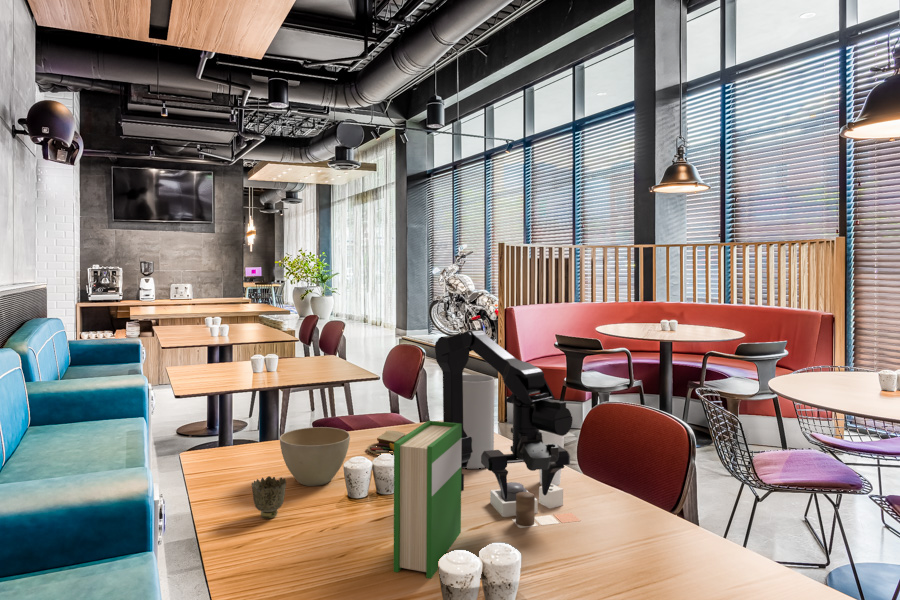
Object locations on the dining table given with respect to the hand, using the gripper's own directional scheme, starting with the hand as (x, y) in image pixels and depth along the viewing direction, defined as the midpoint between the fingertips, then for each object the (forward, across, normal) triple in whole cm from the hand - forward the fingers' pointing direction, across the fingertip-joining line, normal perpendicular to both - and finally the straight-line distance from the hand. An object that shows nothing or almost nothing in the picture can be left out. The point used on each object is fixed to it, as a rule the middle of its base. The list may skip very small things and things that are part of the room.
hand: (525, 496), depth 126 cm
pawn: (+6, 0, 0) cm, 6 cm away
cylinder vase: (+7, +2, +44) cm, 45 cm away
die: (+6, +10, +8) cm, 14 cm away
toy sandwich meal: (+7, -20, +63) cm, 67 cm away
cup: (+7, -54, +19) cm, 58 cm away
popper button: (+5, 0, +8) cm, 10 cm away
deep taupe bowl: (+7, -43, +40) cm, 59 cm away
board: (+7, +5, +4) cm, 9 cm away
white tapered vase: (+7, +16, +21) cm, 28 cm away
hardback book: (+7, -23, -7) cm, 25 cm away
